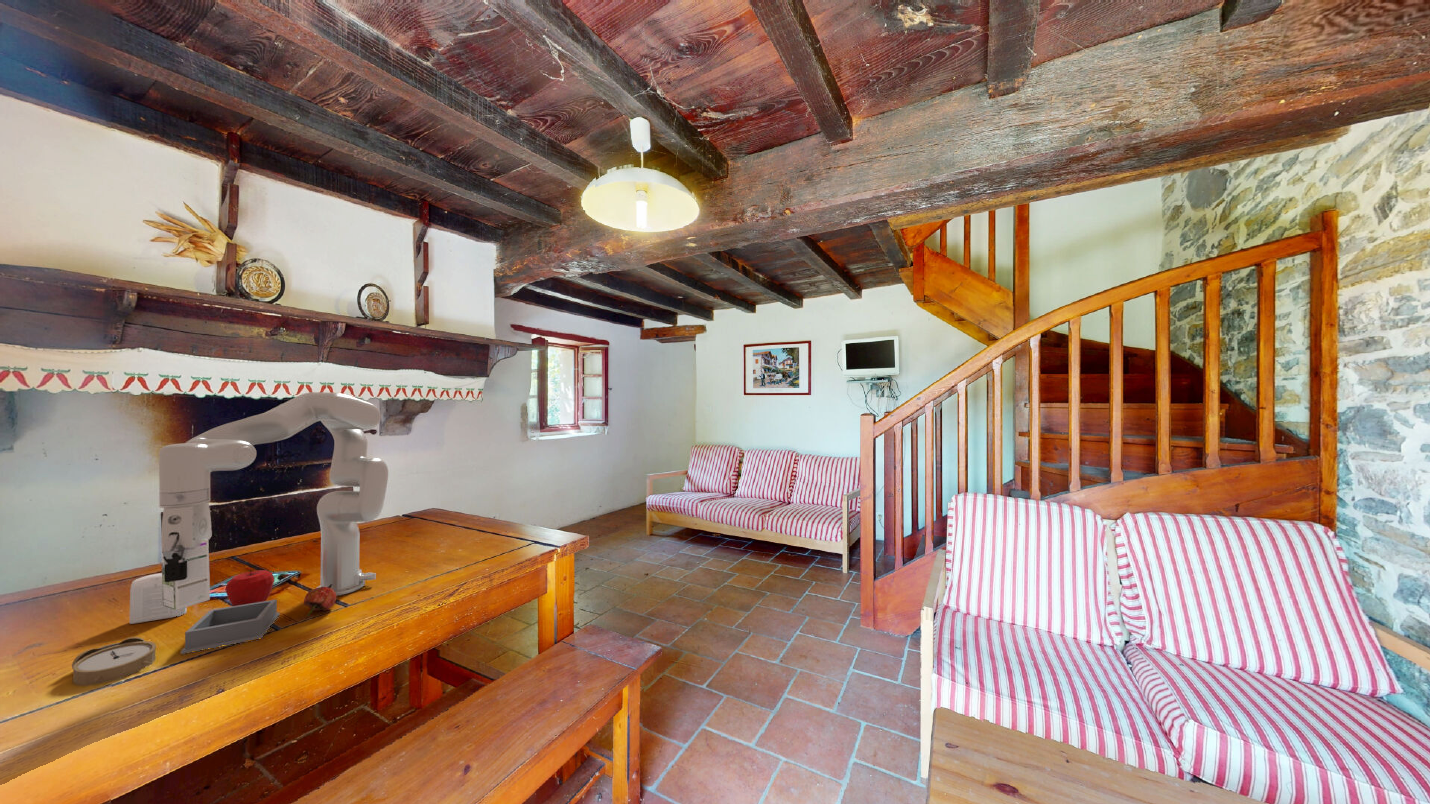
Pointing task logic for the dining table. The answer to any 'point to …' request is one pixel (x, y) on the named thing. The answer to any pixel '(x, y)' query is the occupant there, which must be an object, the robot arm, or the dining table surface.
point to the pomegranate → (320, 599)
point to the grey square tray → (231, 625)
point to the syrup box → (189, 580)
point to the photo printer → (149, 600)
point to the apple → (250, 587)
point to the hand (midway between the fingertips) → (186, 573)
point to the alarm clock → (113, 661)
